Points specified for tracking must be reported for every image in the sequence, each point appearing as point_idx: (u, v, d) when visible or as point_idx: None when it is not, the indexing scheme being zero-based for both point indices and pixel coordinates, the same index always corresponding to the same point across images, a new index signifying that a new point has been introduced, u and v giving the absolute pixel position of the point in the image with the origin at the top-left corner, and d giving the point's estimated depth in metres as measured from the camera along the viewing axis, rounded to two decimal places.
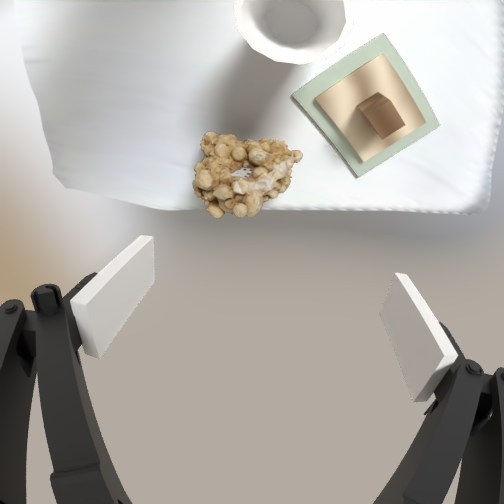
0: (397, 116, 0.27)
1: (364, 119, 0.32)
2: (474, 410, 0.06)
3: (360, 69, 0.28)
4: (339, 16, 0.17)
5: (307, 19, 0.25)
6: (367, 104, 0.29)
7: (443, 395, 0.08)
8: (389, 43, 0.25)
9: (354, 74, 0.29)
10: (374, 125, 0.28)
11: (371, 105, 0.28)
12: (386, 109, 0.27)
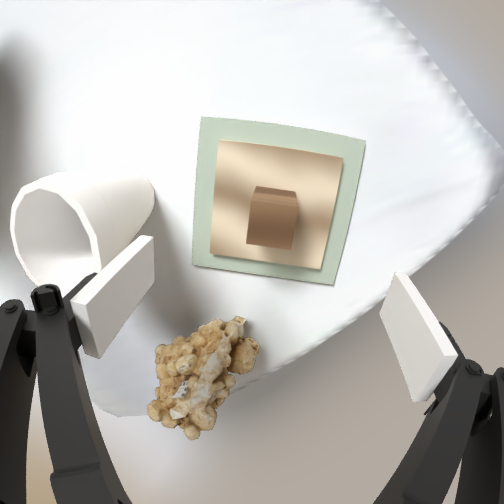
0: (278, 208, 0.21)
1: None
2: (474, 410, 0.06)
3: (216, 182, 0.26)
4: None
5: None
6: None
7: (443, 395, 0.08)
8: (216, 120, 0.24)
9: (216, 193, 0.26)
10: (265, 244, 0.23)
11: None
12: (258, 214, 0.22)
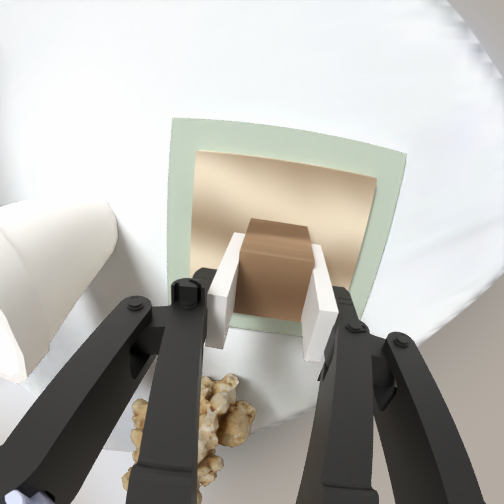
0: (283, 264, 0.14)
1: None
2: (369, 370, 0.08)
3: (194, 212, 0.18)
4: None
5: None
6: None
7: (330, 359, 0.10)
8: (194, 122, 0.17)
9: (195, 228, 0.19)
10: (262, 314, 0.15)
11: None
12: (251, 272, 0.14)
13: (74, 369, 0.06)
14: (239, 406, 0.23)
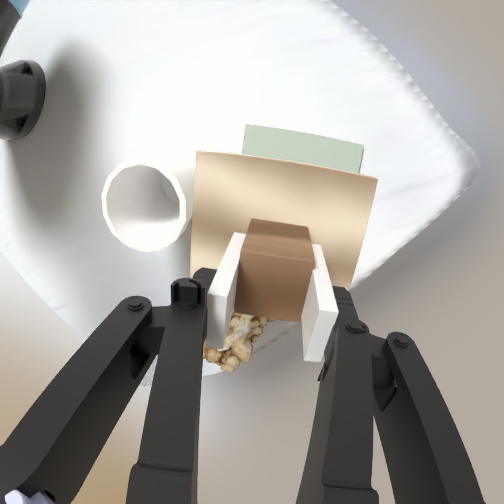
0: (284, 264, 0.14)
1: None
2: (369, 370, 0.08)
3: (194, 212, 0.18)
4: None
5: None
6: None
7: (330, 359, 0.10)
8: (257, 127, 0.34)
9: (195, 228, 0.19)
10: (262, 314, 0.15)
11: None
12: (252, 272, 0.14)
13: (74, 369, 0.07)
14: None
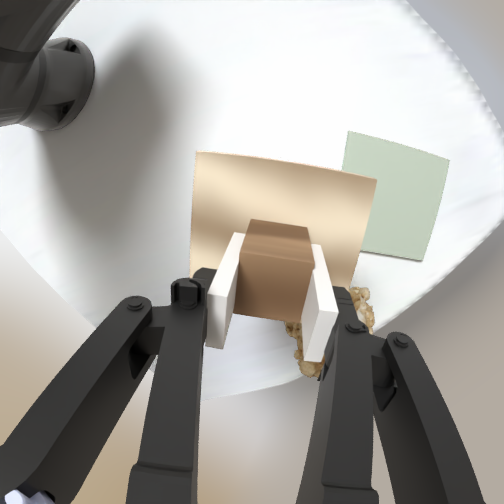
0: (283, 265, 0.14)
1: None
2: (369, 370, 0.08)
3: (194, 212, 0.18)
4: None
5: None
6: None
7: (330, 359, 0.10)
8: (360, 135, 0.32)
9: (195, 228, 0.19)
10: (261, 315, 0.15)
11: None
12: (251, 273, 0.14)
13: (74, 369, 0.07)
14: (365, 304, 0.38)
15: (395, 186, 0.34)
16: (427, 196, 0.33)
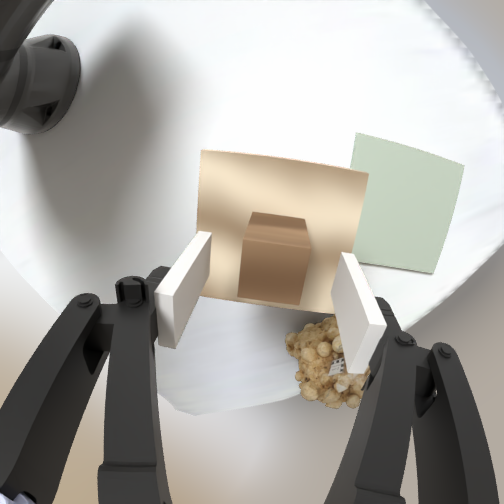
0: (282, 251, 0.15)
1: None
2: (413, 382, 0.07)
3: (199, 207, 0.20)
4: None
5: None
6: None
7: (376, 369, 0.10)
8: (369, 137, 0.28)
9: (200, 221, 0.20)
10: (264, 298, 0.16)
11: None
12: (253, 259, 0.15)
13: (34, 368, 0.06)
14: None
15: (407, 194, 0.30)
16: (440, 205, 0.30)
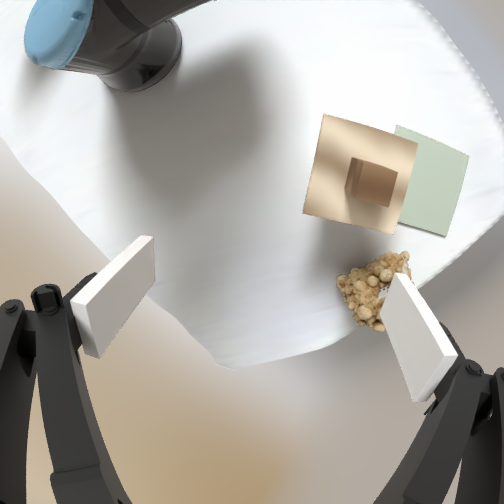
0: (383, 171, 0.24)
1: None
2: (474, 410, 0.06)
3: (318, 149, 0.28)
4: None
5: None
6: (351, 181, 0.27)
7: (443, 395, 0.08)
8: (405, 129, 0.37)
9: (317, 159, 0.29)
10: (370, 200, 0.25)
11: (353, 180, 0.26)
12: (368, 174, 0.24)
13: None
14: None
15: (428, 172, 0.39)
16: (451, 183, 0.39)
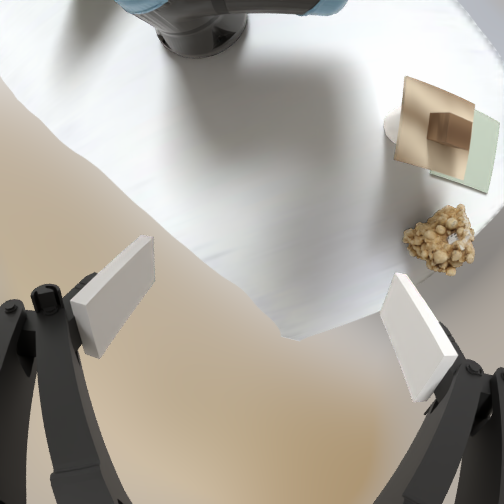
0: (463, 121, 0.23)
1: (439, 145, 0.29)
2: (474, 410, 0.06)
3: (405, 105, 0.28)
4: None
5: None
6: (435, 131, 0.27)
7: (443, 395, 0.08)
8: None
9: (405, 113, 0.28)
10: (456, 144, 0.24)
11: (439, 129, 0.26)
12: (453, 122, 0.24)
13: None
14: None
15: None
16: (488, 145, 0.38)
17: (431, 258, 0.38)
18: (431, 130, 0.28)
